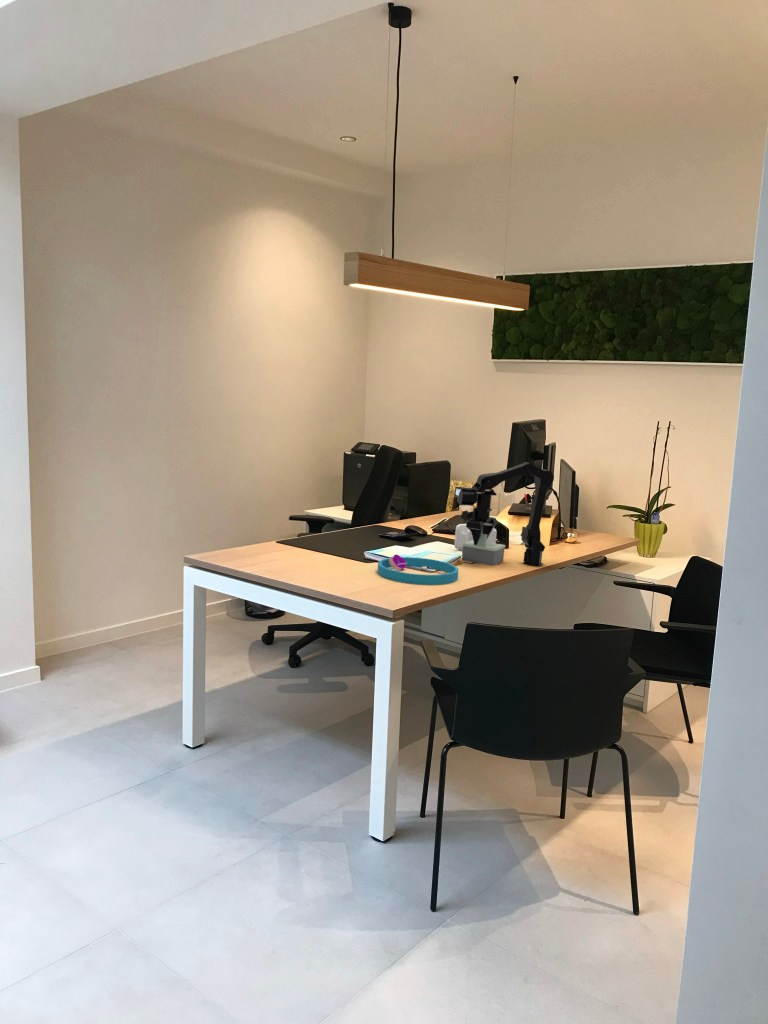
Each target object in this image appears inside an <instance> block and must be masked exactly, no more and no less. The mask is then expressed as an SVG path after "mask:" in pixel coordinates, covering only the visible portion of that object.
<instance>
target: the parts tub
mask: <svg viewBox="0 0 768 1024" xmlns="http://www.w3.org/2000/svg"><path fill="white" fill-rule="evenodd" d="M461 555H462V556H461V561H464V562H465V561H466V562H471V563H475V564H476V563H477V564H482V565H486V566H496V565H499V564H501V563H503V562H504V556H505V548H503V549H500V550H497V551H490V550H484V549H478V548H473V547H467V546H463V550H462V554H461Z"/></svg>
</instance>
